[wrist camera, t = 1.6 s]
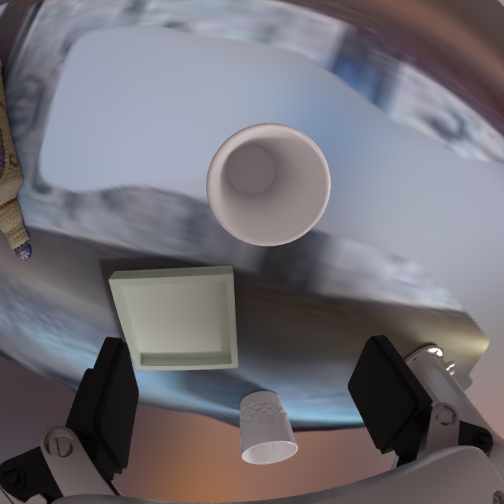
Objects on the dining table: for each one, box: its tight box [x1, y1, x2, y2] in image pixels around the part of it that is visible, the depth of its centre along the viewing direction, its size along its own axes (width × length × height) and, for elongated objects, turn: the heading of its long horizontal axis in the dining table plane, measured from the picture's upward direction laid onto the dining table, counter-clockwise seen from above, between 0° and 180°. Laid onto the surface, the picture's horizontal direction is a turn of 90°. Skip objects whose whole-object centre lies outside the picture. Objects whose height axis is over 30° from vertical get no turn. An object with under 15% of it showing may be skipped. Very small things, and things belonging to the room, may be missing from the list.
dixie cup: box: [206, 123, 331, 246], centre depth 22 cm, size 8×8×11 cm
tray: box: [109, 265, 238, 370], centre depth 32 cm, size 14×14×2 cm
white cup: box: [240, 391, 298, 464], centre depth 36 cm, size 8×8×10 cm
